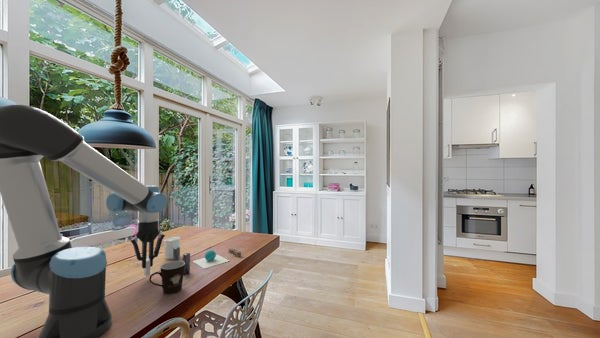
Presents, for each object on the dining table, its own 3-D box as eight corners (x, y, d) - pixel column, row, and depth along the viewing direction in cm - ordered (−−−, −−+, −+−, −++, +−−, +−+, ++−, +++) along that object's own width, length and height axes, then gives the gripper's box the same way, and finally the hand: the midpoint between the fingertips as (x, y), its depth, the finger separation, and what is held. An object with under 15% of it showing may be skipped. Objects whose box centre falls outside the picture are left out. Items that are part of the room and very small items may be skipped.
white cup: (160, 258, 125) (160, 240, 125) (171, 254, 133) (172, 236, 133) (172, 260, 123) (172, 241, 123) (183, 255, 131) (183, 237, 131)
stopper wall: (240, 256, 129) (241, 252, 129) (237, 257, 127) (237, 252, 127) (231, 252, 136) (231, 248, 136) (228, 253, 134) (228, 248, 134)
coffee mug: (185, 283, 96) (186, 259, 97) (183, 293, 88) (183, 267, 89) (153, 288, 92) (154, 263, 92) (148, 299, 84) (148, 271, 84)
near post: (190, 273, 106) (191, 254, 106) (184, 275, 104) (184, 255, 104) (188, 271, 108) (188, 252, 108) (181, 273, 106) (181, 254, 106)
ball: (219, 252, 123) (210, 250, 120) (214, 263, 121) (205, 261, 118) (214, 250, 127) (205, 247, 123) (209, 260, 125) (201, 258, 121)
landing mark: (229, 261, 122) (229, 260, 122) (203, 268, 111) (203, 268, 111) (217, 254, 131) (217, 254, 131) (192, 261, 121) (192, 261, 121)
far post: (180, 266, 115) (180, 247, 115) (174, 267, 113) (174, 249, 113) (178, 264, 117) (178, 246, 117) (171, 266, 115) (172, 247, 115)
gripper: (162, 217, 108) (161, 268, 108) (128, 221, 99) (127, 276, 98) (167, 219, 103) (166, 272, 103) (132, 224, 94) (130, 282, 93)
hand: (147, 274), depth 100 cm, fingers closed
